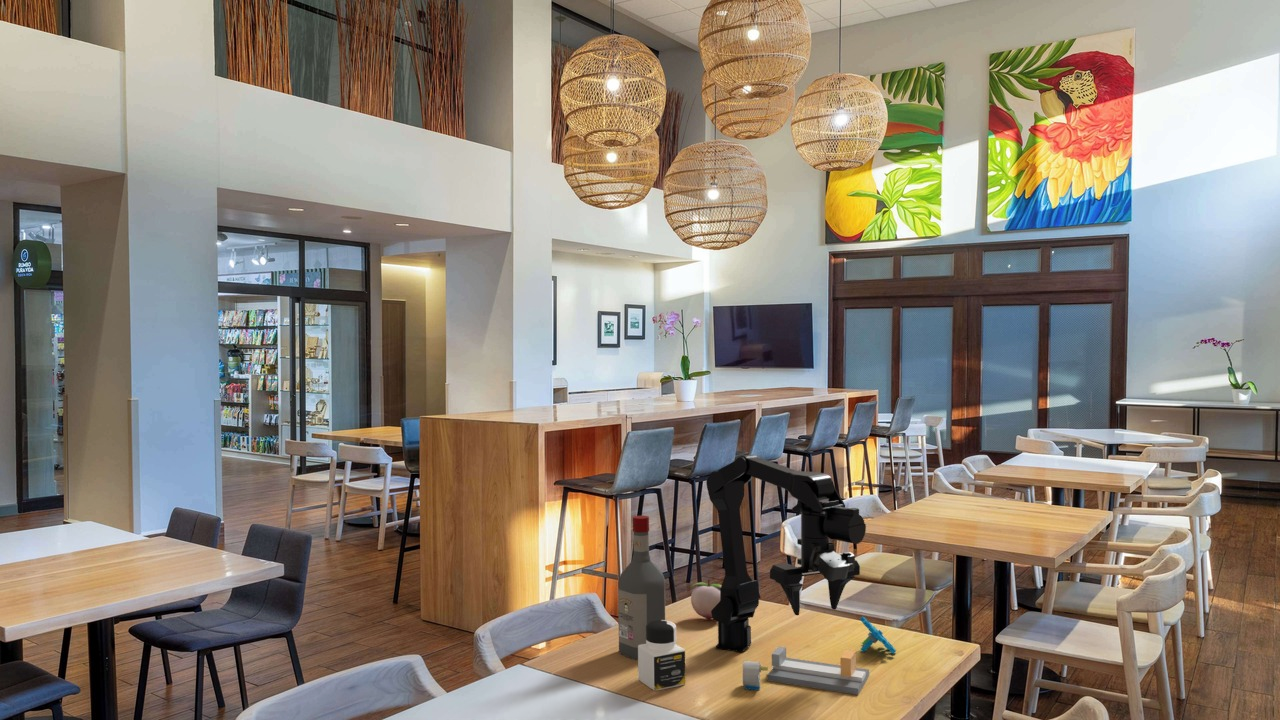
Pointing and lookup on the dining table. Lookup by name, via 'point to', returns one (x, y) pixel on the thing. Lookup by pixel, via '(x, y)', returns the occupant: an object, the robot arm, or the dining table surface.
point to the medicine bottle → (661, 657)
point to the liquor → (639, 593)
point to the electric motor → (752, 674)
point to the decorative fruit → (705, 598)
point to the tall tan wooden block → (848, 663)
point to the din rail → (814, 674)
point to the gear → (874, 637)
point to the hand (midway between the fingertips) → (815, 611)
